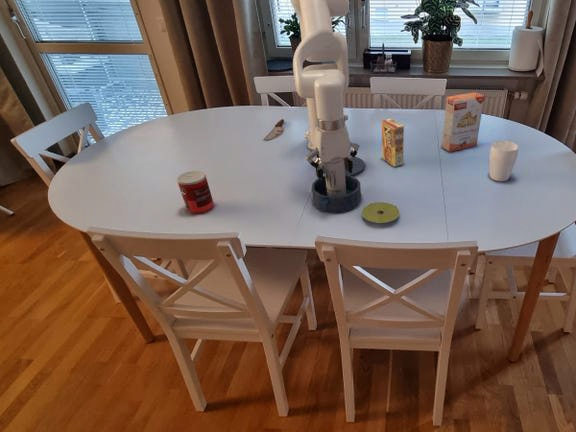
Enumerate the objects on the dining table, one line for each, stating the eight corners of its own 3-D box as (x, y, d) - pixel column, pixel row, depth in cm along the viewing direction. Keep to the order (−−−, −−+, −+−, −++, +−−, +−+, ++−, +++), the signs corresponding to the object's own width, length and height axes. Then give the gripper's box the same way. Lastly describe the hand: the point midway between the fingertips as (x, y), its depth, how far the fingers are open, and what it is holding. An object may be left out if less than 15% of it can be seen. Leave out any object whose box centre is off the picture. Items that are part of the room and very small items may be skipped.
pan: (300, 212, 120) (298, 197, 117) (329, 181, 136) (327, 167, 133) (346, 221, 116) (345, 205, 113) (370, 188, 132) (370, 173, 129)
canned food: (191, 201, 125) (181, 171, 119) (217, 200, 126) (208, 170, 119) (183, 215, 119) (172, 183, 113) (210, 213, 119) (201, 182, 113)
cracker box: (449, 153, 155) (455, 100, 143) (441, 147, 160) (445, 96, 148) (477, 146, 160) (485, 95, 149) (468, 141, 165) (475, 91, 153)
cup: (513, 173, 141) (519, 142, 134) (511, 185, 134) (518, 152, 127) (487, 169, 143) (492, 138, 137) (484, 180, 136) (489, 149, 130)
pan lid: (313, 174, 140) (311, 158, 137) (332, 155, 153) (330, 140, 150) (355, 181, 136) (354, 165, 133) (371, 161, 149) (370, 146, 145)
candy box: (403, 164, 147) (404, 125, 138) (394, 167, 145) (395, 128, 136) (390, 156, 153) (390, 118, 144) (381, 158, 151) (381, 120, 142)
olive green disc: (368, 204, 124) (368, 199, 123) (403, 210, 121) (403, 204, 120) (356, 224, 115) (356, 218, 114) (393, 230, 112) (393, 225, 111)
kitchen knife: (273, 139, 165) (262, 137, 165) (273, 143, 166) (262, 140, 166) (291, 120, 182) (281, 118, 182) (291, 123, 183) (281, 121, 183)
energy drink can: (324, 201, 124) (319, 158, 116) (333, 192, 129) (329, 150, 121) (341, 205, 122) (338, 161, 114) (349, 195, 127) (347, 153, 119)
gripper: (351, 112, 118) (354, 163, 128) (297, 124, 110) (304, 177, 120) (363, 121, 113) (365, 173, 123) (307, 133, 105) (314, 188, 115)
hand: (335, 175), depth 121 cm, fingers open, 9 cm apart
